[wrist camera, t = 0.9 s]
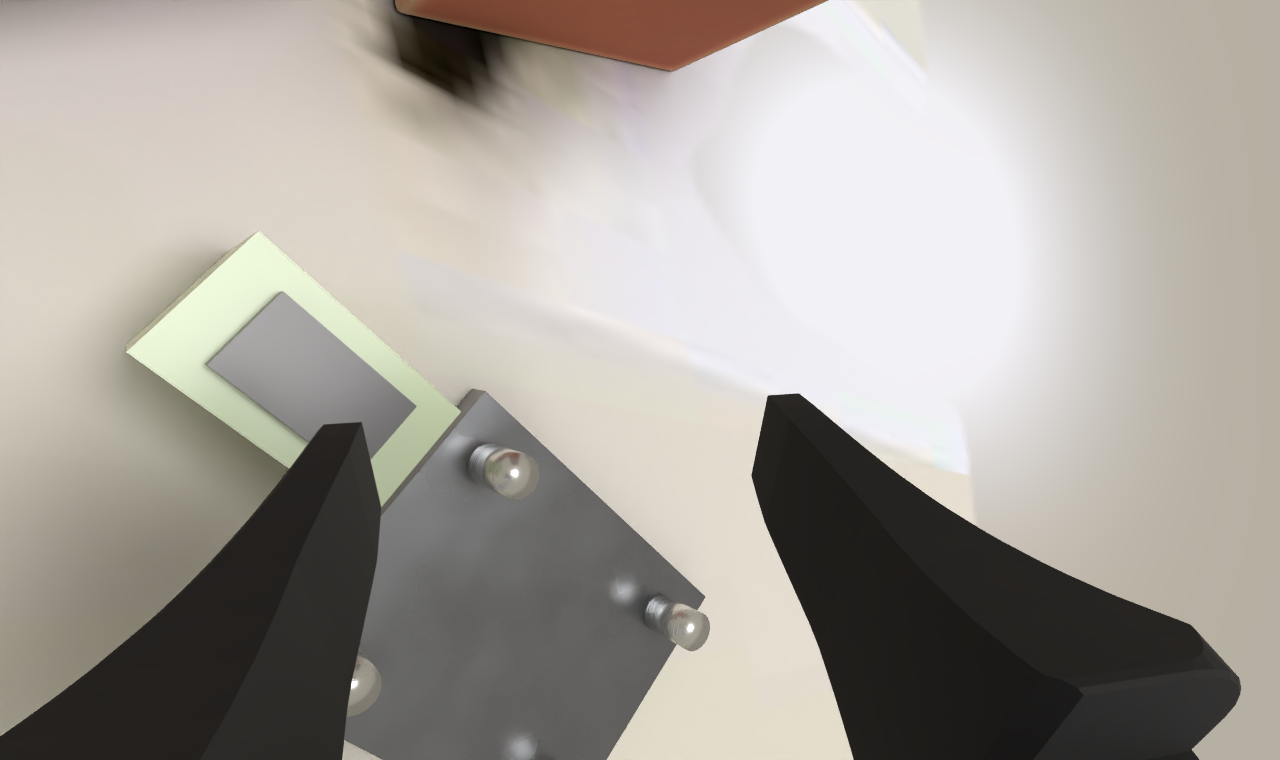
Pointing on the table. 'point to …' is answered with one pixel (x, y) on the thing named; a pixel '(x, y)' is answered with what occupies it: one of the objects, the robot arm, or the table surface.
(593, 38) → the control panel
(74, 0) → the table surface
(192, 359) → the block
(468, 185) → the table surface
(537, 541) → the chassis
